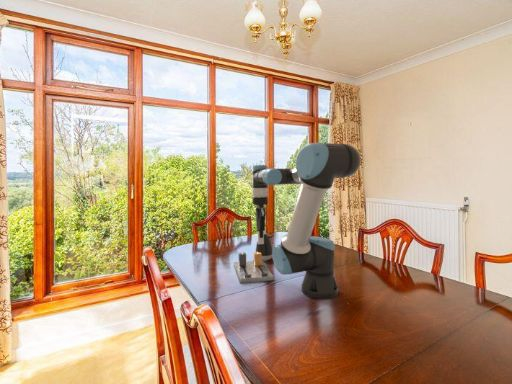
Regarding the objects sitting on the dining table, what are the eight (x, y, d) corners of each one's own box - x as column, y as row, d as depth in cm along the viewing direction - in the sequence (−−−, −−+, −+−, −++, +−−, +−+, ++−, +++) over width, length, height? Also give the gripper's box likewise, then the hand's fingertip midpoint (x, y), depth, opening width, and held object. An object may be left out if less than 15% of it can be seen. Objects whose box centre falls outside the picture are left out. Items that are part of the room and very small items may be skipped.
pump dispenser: (273, 262, 159) (273, 235, 158) (255, 262, 160) (255, 235, 158) (273, 256, 169) (272, 231, 168) (255, 256, 170) (255, 231, 169)
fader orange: (261, 265, 148) (261, 253, 147) (255, 265, 147) (254, 253, 147) (260, 263, 151) (260, 251, 151) (253, 263, 150) (253, 252, 150)
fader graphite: (246, 265, 148) (246, 253, 147) (239, 265, 147) (239, 253, 147) (245, 263, 151) (245, 251, 150) (238, 263, 150) (238, 252, 150)
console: (274, 280, 133) (273, 274, 133) (239, 283, 130) (239, 276, 130) (262, 263, 156) (262, 258, 156) (233, 266, 153) (233, 260, 153)
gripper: (270, 197, 133) (271, 246, 135) (264, 195, 146) (265, 240, 148) (255, 197, 132) (255, 247, 133) (250, 195, 145) (251, 241, 146)
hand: (260, 243), depth 140 cm, fingers closed
